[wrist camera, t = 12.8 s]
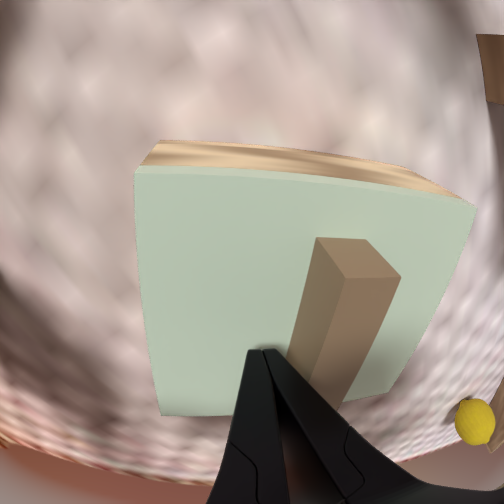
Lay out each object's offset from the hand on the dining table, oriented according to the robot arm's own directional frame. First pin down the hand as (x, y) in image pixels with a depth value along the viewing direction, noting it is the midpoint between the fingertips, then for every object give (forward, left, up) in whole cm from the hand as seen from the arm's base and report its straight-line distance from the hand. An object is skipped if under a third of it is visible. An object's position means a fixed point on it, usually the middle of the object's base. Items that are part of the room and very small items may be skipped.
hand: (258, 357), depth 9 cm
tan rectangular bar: (+19, +4, -6) cm, 20 cm away
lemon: (+17, -35, -6) cm, 40 cm away
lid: (+2, -1, -2) cm, 3 cm away
